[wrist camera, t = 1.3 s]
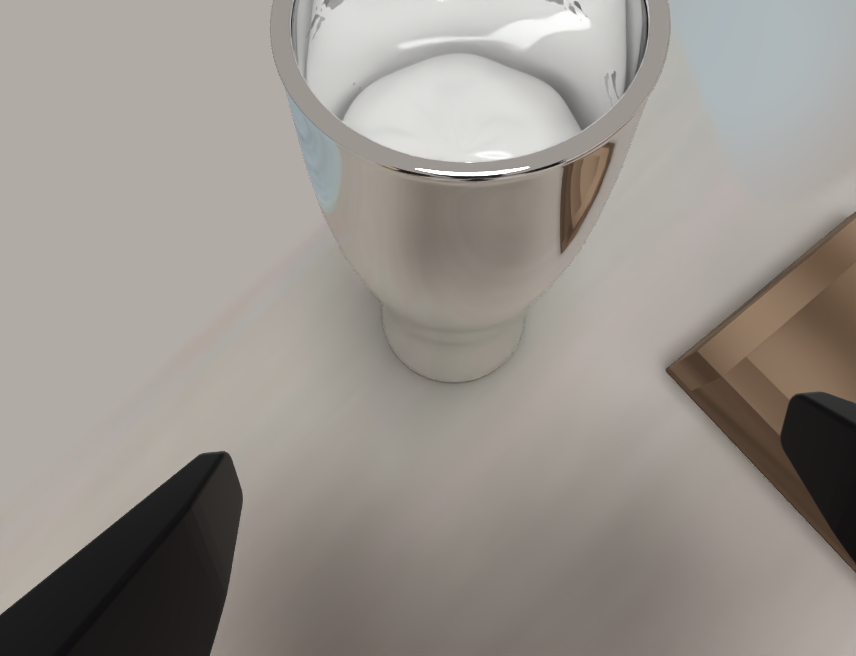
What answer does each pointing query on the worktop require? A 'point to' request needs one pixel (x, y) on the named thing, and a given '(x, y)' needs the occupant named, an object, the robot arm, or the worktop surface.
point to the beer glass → (464, 150)
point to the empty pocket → (781, 360)
